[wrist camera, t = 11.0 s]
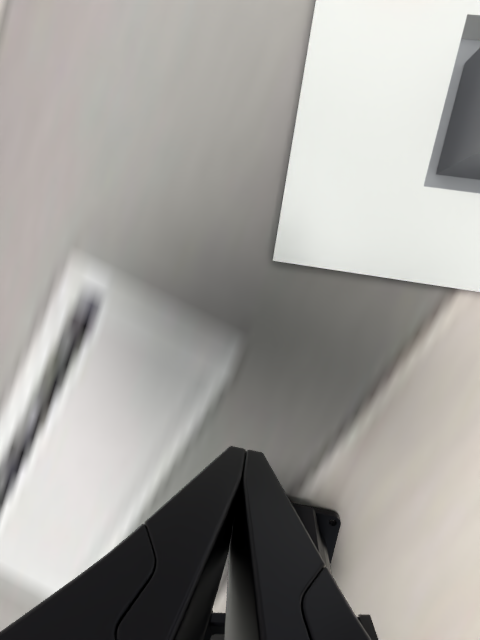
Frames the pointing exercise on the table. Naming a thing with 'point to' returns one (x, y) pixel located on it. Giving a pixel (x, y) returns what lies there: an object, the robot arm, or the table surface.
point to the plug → (464, 126)
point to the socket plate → (382, 145)
